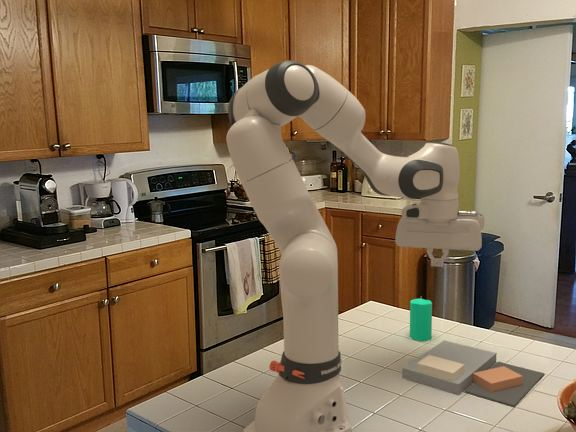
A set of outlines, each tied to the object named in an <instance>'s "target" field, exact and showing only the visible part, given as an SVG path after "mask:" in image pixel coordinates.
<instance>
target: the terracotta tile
mask: <svg viewBox="0 0 576 432" xmlns="http://www.w3.org/2000/svg"><path fill="white" fill-rule="evenodd" d="M474 382H475V383H477V384H478V385H480V386H482V387H483V388H485V389H487V390H488V391H490V392H494V391H498V390H502V389H506V388H510V387H514V386H518V385H522V383H523V376H522V375H520V374H518V373H516V372H514V371H512V370H510V369H508V368H506V367H504V366H502V367H498V368H493V369H490V368H489V369H488V370H484V371H480V372H476V373H473V383H474Z"/></svg>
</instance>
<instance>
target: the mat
mask: <svg viewBox="0 0 576 432" xmlns="http://www.w3.org/2000/svg"><path fill="white" fill-rule="evenodd" d="M502 366H504V367H506V368H508V369H510V370H512V371H514V372H516V373H518V374H520V375H522V376H523V383H522V385H518V386H514V387H510V388H506V389H502V390H498V391H494V392H490V391H488V390H487V389H485V388H483V387H482V386H480V385H478V384H477V383H475V382H473V383H472V384H471V385H469V386H468V387H467V388H466V389H465V390H464V391H463V392H464V393H465V394H469V395H472V396H475V397H478V398H482V399H486V400H489V401H492V402H495V403H498V404H502V405H506V406H509V407H512V408H515V407H516V406H517V405H518V404H519V403H520V402H521V401H522V400H523V398H524V397H525V396H526V395H528V393H529V392H530V391H531V390H532V389H533V387H534V386H536V384H537V383H538V382H540V380H541V379H542V378H543V377H544V376H545V373H544V372H541V371H536V370H533V369H530V368H529V369H528V368H525V367H521V366H517V365H513V364H509V363H506V362H505V363H504V362H502V361H496V363H495V364H494V365H493V366H492V367H491V368H489V369H493V368H498V367H502Z"/></svg>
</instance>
